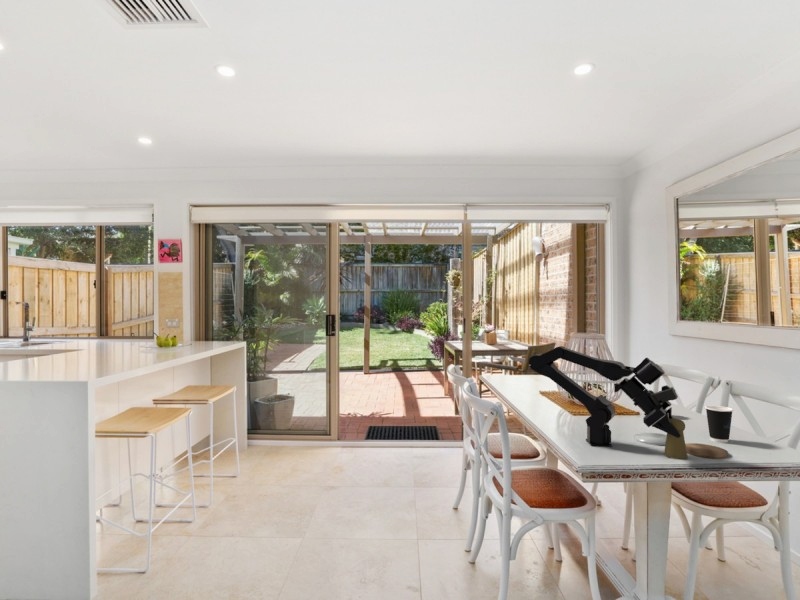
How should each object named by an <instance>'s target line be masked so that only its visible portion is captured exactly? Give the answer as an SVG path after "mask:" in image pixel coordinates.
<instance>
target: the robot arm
mask: <svg viewBox="0 0 800 600" xmlns="http://www.w3.org/2000/svg"><path fill="white" fill-rule="evenodd" d="M560 359H561V360H564V361H565V362H568V363H572V364H575V365H578V366H581V367H584V368H585V369H587V368H588V369H590V370H592V371H594V372H596V373H597V374H599V375H600V376H602V377H604V378H605V379H608V380H609V381H612V382H615V383H614V384H613V386H614V391H613V392H614V393H618V392H619V391H620V390H622V391H623V393H624V394H625V395H626V396H627V397H628V398H629V399H630V400H631V401H632V402H633V405H634V406H635V407H638V408H639V409H640V410H641V411H642V412H643V415H644V417H643V419H642V420H643V423H644V425H646V427H647V428H650V427H652V428H655V429H657V430H660V431H662V432H664V433H666V434H667V433H669V434H671V435H673V436H675V437H677V438H679V437H680V436H681V435H680V433H679V432H678V431H677V430H676V428H675V427H674V426H673V424H672V423H671V422H670V421H669V419H675V418H674V416H673V415H672V410H673V409H672V408H673V407H672V403H671V402H670V401H674V400H677V399H678V398H679V396H678V394H677V392H676V389H675V388H674V387H673V386H671V387H670V386H669V385H667V384H666V385H662V386H661V390H658V391H656V392H654V391H653V390H651V389H648V388H646V386H644V385H647V384H648V385H649V386H651V385H653V384H654V383H656V381H657V380H659V379H660V378H661V377H662V376H664V375H665V371H664V370H663V368H662V367H661V366H659V364H657V363H655V362H654V361H653V360H651V359H650V358H649V357H645V358H644V359H643V360H642V361H641V362H640V363H639V364H638V365H637V366H636V367H634V366H628V365H625V364H624V363H623V362H621V361H618V360H611V359H603V358H598V357H594V356H591V355H588V354H585V353H582V352H579V351H576V350H573V349H571V348H567V347H565V346H564V345H560V346H555V347H554V348H553V349H551V350H548V351H546V352H544V353H538V354H534V355H531V356H530V357H529V360H528V367H529V369H531V370H532V371H534V372H535V373H537V374H539V375H541V376H544V377H547V378H548V379H550V380H551V381H553V382H554V383H555V384H556V385H558V386H559V387H561V388H562V389H563V390H564V391H566V392H567V393H568V394H569V395H570V396H572V397H573V398H574V399H576V400H577V401H578V402H579V403H581V404H582V405H583V406H584V407H585V409H586V410H587V412H588V413H589V414H590V416H589V417H587V418H586V419H585V423H586V438H585V441H586V442H587V443H588V444H589V445H590V446H592V447H593V446H594V447H596V446H597V447H612V430H611V429H610V425H608V424H609V422H610V421H611V420H612V419H613V418H614V417H615V416H616V408H615V406H614V405H613V404H612V403H613V402H612V401H610V400H608V399H607V398H606V397H605V396H604V395H602V394H599V396H596V395H594V394H592V393H590V392H589V391H588V390H587V389H585V388H583V387H582V386H581V385H580V384H579V383H577V382H576V381H574V380H573V379H572V378H570V376H568V375H567V374H565V373H564V372H563V371H562V370H560V369H559V368H558V367H557V365H556V364H555V362H556V361H557V360H560ZM633 374H634V375H633ZM631 375H633V376H631ZM629 376H631V377H630V378H629V379H628V378H627V377H629ZM621 379H622V380H621ZM620 380H621V381H620ZM616 381H617V382H616ZM618 381H620V382H619V383H618Z"/></svg>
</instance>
